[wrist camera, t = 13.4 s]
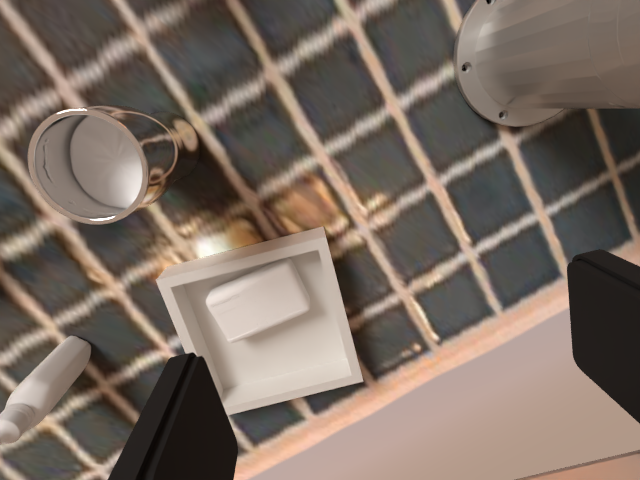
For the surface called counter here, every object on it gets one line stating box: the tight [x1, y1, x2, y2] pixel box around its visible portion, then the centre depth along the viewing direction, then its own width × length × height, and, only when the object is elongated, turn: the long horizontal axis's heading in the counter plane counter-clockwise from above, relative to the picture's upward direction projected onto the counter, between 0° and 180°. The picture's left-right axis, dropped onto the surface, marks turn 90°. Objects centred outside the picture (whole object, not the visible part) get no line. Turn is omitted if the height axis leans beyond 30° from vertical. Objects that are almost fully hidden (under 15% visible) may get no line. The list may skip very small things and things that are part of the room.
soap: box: [206, 258, 310, 343], centre depth 41 cm, size 9×6×3 cm, turn 114°
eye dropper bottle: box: [0, 336, 91, 444], centre depth 38 cm, size 4×6×12 cm
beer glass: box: [28, 105, 200, 224], centre depth 31 cm, size 7×7×15 cm
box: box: [156, 226, 363, 415], centre depth 42 cm, size 16×16×4 cm
